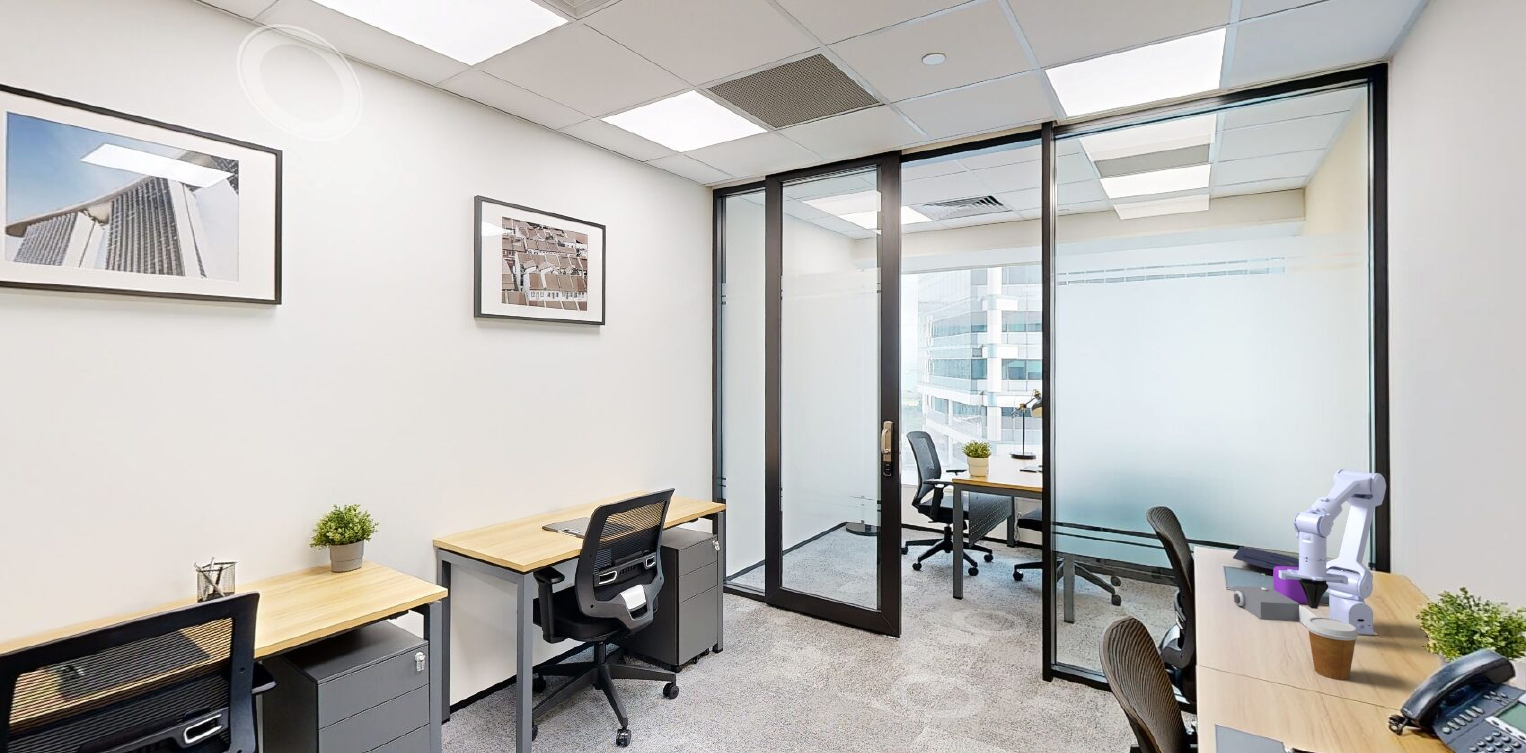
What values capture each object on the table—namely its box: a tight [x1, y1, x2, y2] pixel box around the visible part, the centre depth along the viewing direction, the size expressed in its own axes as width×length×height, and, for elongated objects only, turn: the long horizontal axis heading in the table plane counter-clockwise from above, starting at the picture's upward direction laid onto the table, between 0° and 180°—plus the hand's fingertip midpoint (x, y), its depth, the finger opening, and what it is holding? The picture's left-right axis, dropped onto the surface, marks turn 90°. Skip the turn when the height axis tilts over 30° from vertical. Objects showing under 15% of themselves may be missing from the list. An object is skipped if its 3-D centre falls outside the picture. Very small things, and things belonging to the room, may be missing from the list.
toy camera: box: [1272, 566, 1321, 605], centre depth 204 cm, size 11×14×10 cm
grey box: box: [1233, 585, 1304, 622], centre depth 193 cm, size 15×12×6 cm
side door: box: [1299, 605, 1317, 627], centre depth 179 cm, size 13×1×4 cm, turn 161°
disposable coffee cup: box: [1305, 616, 1360, 681], centre depth 155 cm, size 10×10×12 cm
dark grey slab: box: [1232, 545, 1299, 570], centre depth 231 cm, size 24×30×4 cm
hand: (1312, 607), depth 175 cm, fingers closed
